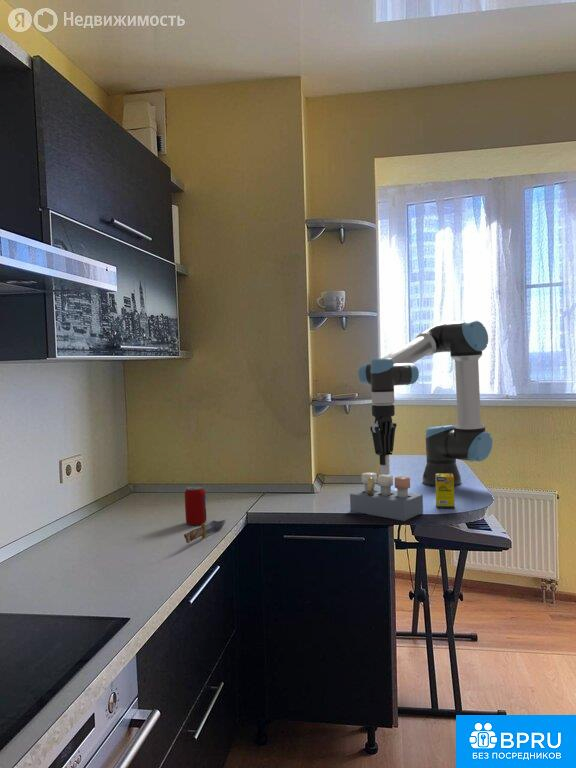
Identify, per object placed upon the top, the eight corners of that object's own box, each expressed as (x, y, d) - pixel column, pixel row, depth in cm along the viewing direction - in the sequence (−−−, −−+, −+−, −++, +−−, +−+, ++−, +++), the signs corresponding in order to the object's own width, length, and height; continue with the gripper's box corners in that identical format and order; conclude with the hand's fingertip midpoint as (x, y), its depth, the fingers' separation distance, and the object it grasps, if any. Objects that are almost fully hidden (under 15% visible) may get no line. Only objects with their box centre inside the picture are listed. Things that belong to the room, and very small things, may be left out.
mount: (370, 503, 208) (369, 487, 207) (423, 512, 194) (422, 494, 193) (350, 511, 199) (349, 493, 198) (404, 520, 185) (404, 502, 184)
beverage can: (211, 521, 192) (209, 486, 192) (197, 527, 186) (195, 490, 186) (195, 519, 196) (194, 484, 195) (181, 524, 190) (179, 488, 190)
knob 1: (367, 495, 204) (367, 471, 203) (379, 496, 200) (379, 473, 200) (359, 498, 200) (358, 474, 200) (371, 500, 197) (371, 476, 196)
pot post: (370, 494, 196) (369, 476, 196) (375, 495, 195) (374, 477, 195) (366, 495, 195) (366, 477, 195) (371, 496, 194) (371, 478, 193)
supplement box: (454, 508, 197) (454, 476, 196) (436, 508, 198) (435, 476, 197) (453, 504, 202) (452, 473, 202) (435, 504, 204) (435, 473, 203)
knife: (225, 525, 187) (224, 510, 187) (229, 526, 186) (228, 510, 186) (183, 550, 164) (182, 533, 164) (187, 551, 164) (186, 533, 163)
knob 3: (400, 500, 195) (399, 475, 195) (413, 502, 192) (412, 477, 191) (392, 503, 191) (391, 478, 191) (405, 505, 188) (404, 480, 188)
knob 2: (383, 497, 199) (382, 473, 199) (396, 499, 196) (395, 475, 196) (375, 500, 196) (374, 476, 195) (388, 502, 192) (387, 478, 192)
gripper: (383, 402, 202) (385, 469, 203) (362, 405, 192) (364, 476, 193) (402, 403, 197) (404, 472, 198) (382, 406, 187) (383, 478, 188)
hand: (384, 474), depth 195 cm, fingers closed
